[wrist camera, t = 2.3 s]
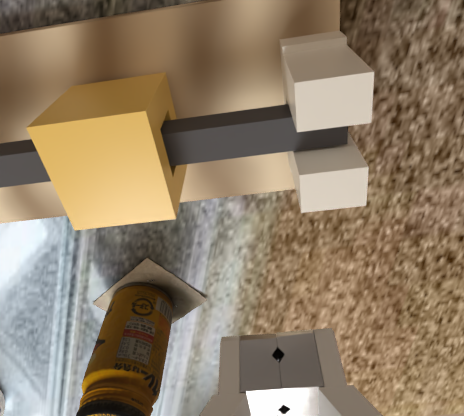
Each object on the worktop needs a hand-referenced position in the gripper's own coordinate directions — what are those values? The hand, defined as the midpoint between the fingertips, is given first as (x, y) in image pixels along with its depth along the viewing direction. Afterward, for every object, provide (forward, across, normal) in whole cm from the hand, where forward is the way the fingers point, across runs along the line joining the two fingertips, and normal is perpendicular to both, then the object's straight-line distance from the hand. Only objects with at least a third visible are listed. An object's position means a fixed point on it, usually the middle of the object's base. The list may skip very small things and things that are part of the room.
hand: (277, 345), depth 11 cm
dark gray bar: (+15, +8, 0) cm, 17 cm away
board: (+19, +9, 0) cm, 21 cm away
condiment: (+19, +12, +18) cm, 29 cm away
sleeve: (+18, +8, 0) cm, 19 cm away
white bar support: (+18, -4, 0) cm, 18 cm away
